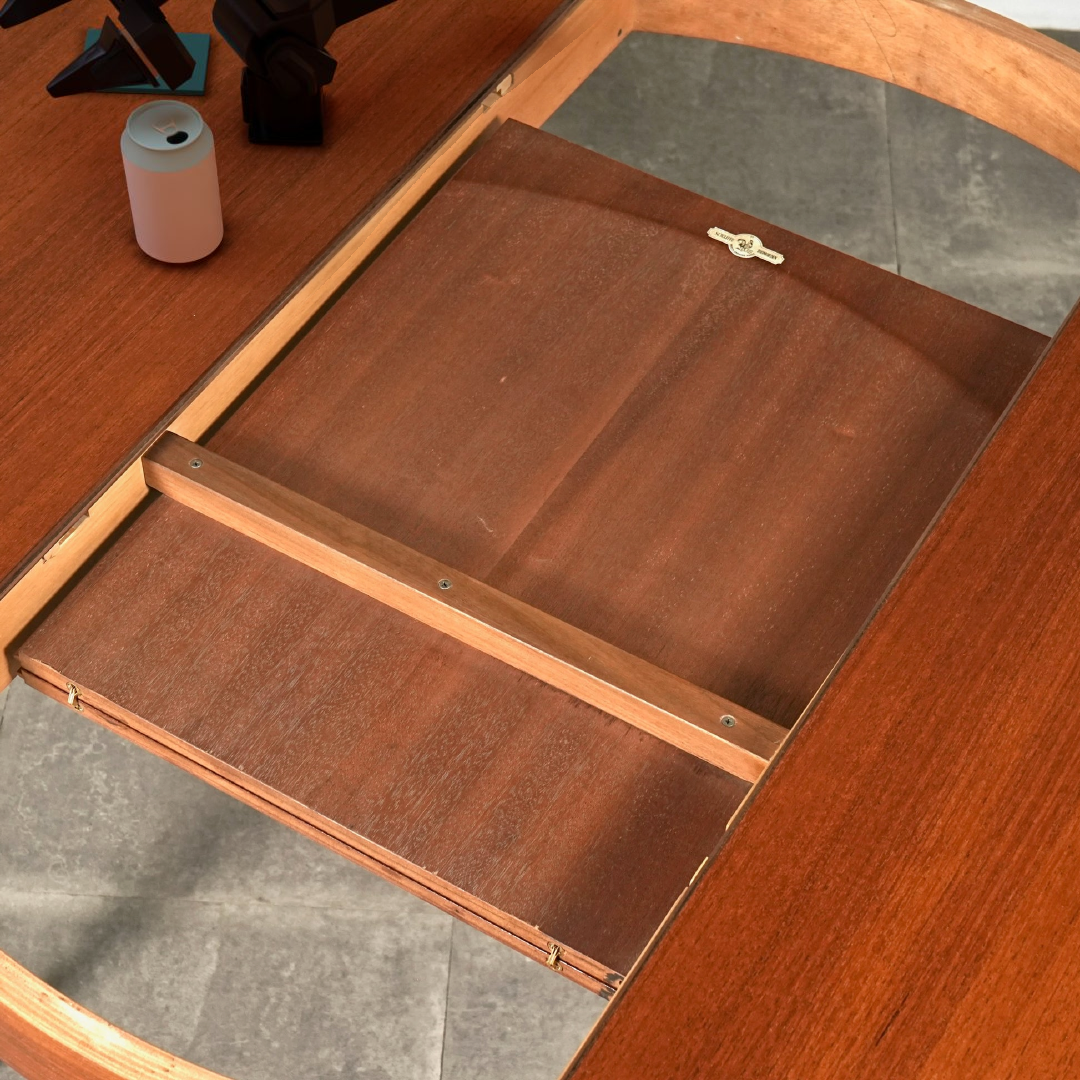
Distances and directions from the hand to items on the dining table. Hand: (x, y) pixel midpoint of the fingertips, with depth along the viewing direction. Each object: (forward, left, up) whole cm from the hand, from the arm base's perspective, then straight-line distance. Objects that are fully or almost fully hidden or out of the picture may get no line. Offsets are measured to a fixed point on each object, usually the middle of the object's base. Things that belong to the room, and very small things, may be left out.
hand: (23, 58), depth 120 cm
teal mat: (-6, -18, -15) cm, 24 cm away
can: (-11, +4, -15) cm, 19 cm away
